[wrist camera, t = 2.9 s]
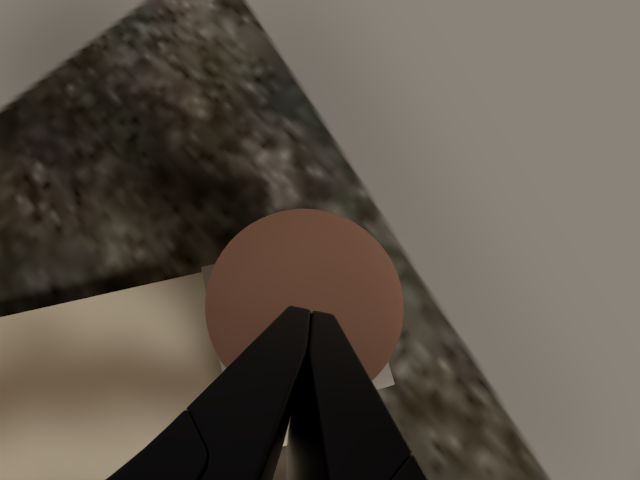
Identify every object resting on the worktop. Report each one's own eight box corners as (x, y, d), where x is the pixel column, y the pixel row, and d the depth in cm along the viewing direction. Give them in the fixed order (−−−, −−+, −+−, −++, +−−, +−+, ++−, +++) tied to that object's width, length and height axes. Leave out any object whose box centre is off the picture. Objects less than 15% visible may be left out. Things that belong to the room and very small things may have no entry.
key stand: (366, 419, 22) (413, 433, 15) (-209, 586, 18) (-516, 712, 11) (320, 250, 24) (343, 192, 17) (-205, 369, 20) (-461, 358, 13)
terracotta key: (392, 379, 14) (429, 376, 11) (236, 422, 14) (227, 432, 10) (350, 233, 16) (372, 192, 12) (205, 265, 15) (188, 230, 12)
